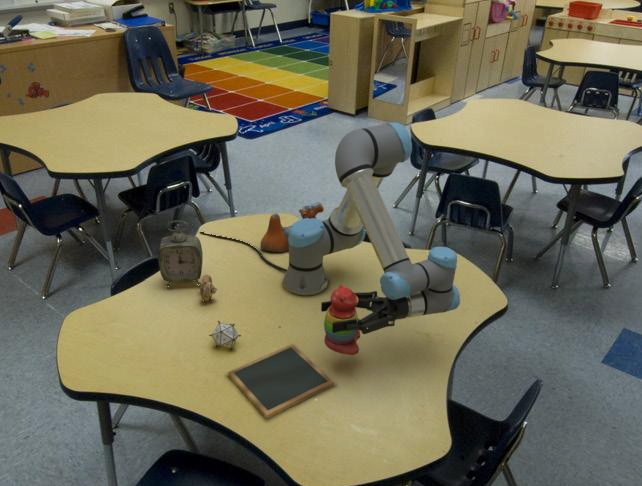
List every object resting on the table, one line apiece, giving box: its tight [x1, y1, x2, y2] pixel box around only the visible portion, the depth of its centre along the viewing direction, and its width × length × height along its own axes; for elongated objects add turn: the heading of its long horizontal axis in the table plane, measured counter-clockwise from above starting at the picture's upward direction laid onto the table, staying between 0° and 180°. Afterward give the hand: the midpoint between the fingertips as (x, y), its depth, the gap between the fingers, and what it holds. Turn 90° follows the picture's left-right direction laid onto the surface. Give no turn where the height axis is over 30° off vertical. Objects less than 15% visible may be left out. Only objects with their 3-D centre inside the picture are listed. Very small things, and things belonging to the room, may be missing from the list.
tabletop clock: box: [157, 220, 204, 289], centre depth 201 cm, size 14×9×25 cm, turn 93°
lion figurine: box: [199, 274, 218, 305], centre depth 197 cm, size 15×5×9 cm, turn 13°
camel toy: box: [260, 201, 325, 253], centre depth 224 cm, size 25×13×17 cm, turn 89°
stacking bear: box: [323, 284, 361, 356], centre depth 159 cm, size 11×10×18 cm
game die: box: [208, 320, 242, 351], centre depth 175 cm, size 9×8×10 cm
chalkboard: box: [227, 343, 334, 420], centre depth 163 cm, size 20×22×2 cm
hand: (327, 317), depth 158 cm, fingers closed on stacking bear, 9 cm apart
